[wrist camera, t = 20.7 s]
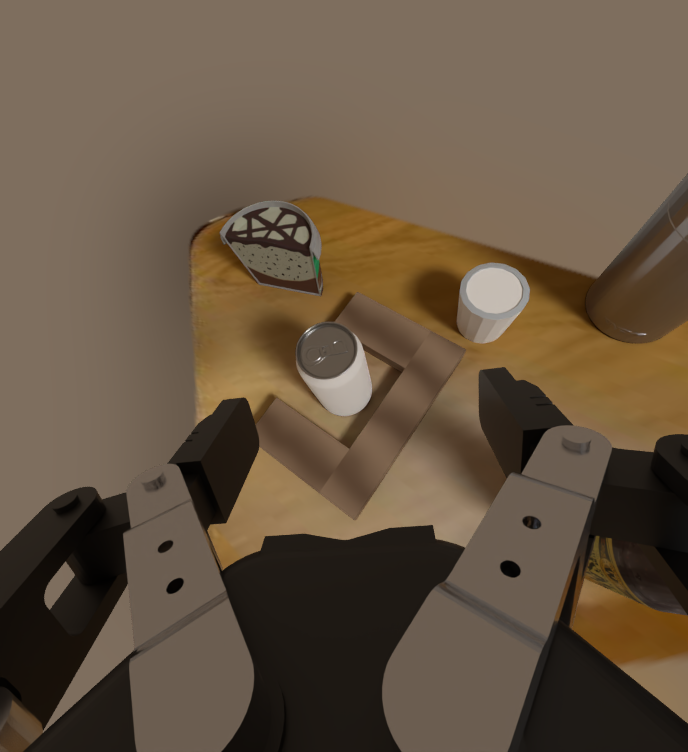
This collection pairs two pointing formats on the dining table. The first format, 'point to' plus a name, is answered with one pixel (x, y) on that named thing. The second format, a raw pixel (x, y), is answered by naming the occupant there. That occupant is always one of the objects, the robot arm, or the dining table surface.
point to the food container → (277, 246)
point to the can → (334, 367)
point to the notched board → (387, 425)
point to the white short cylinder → (490, 301)
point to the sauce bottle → (629, 574)
